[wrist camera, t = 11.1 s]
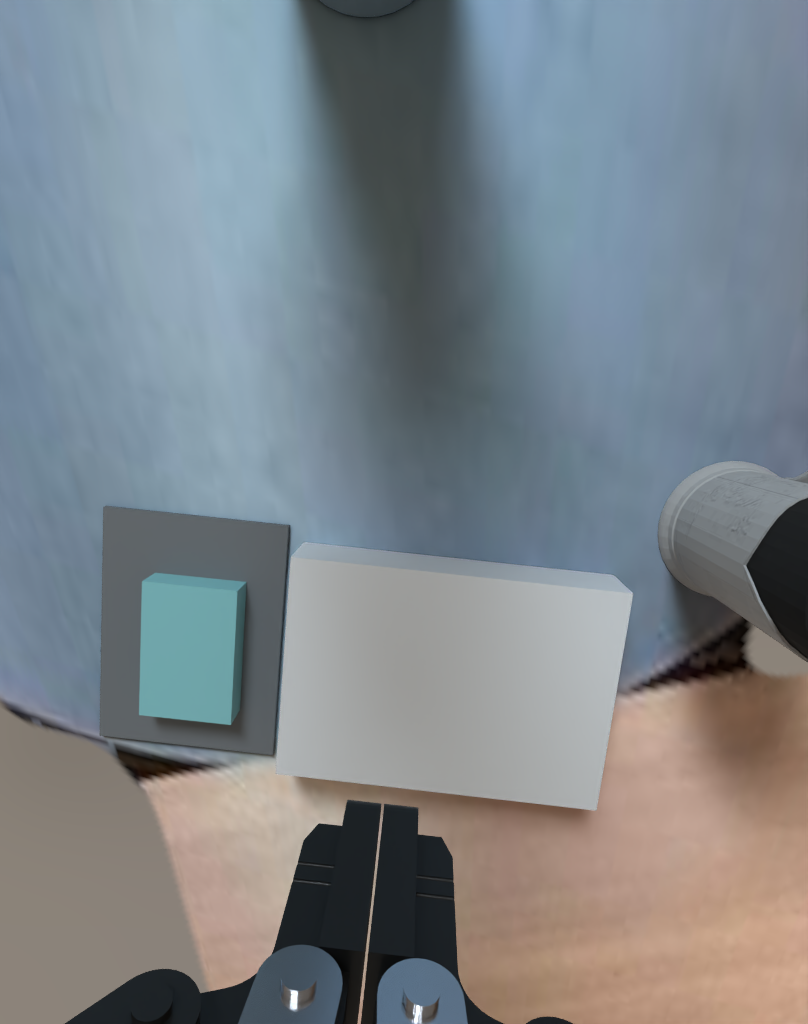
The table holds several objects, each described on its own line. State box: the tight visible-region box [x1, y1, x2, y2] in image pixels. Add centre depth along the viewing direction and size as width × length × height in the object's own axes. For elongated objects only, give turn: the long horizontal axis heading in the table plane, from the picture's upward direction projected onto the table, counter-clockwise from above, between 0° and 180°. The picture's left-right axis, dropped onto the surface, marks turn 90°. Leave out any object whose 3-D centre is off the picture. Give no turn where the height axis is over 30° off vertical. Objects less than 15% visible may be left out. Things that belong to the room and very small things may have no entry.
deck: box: [276, 542, 633, 811], centre depth 40 cm, size 14×20×4 cm
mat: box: [100, 506, 290, 755], centre depth 43 cm, size 16×12×1 cm
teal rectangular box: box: [139, 573, 247, 725], centre depth 41 cm, size 9×6×2 cm, turn 175°
